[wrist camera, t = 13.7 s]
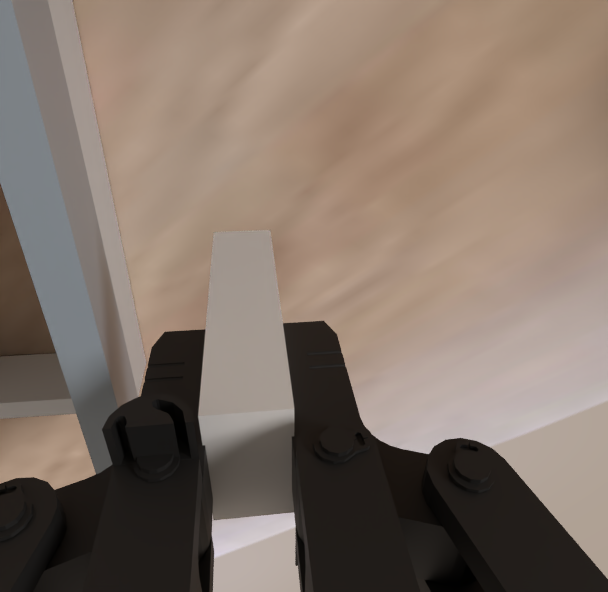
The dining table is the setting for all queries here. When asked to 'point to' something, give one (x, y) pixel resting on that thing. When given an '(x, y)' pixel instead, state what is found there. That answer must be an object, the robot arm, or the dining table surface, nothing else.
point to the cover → (59, 220)
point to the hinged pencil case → (46, 367)
